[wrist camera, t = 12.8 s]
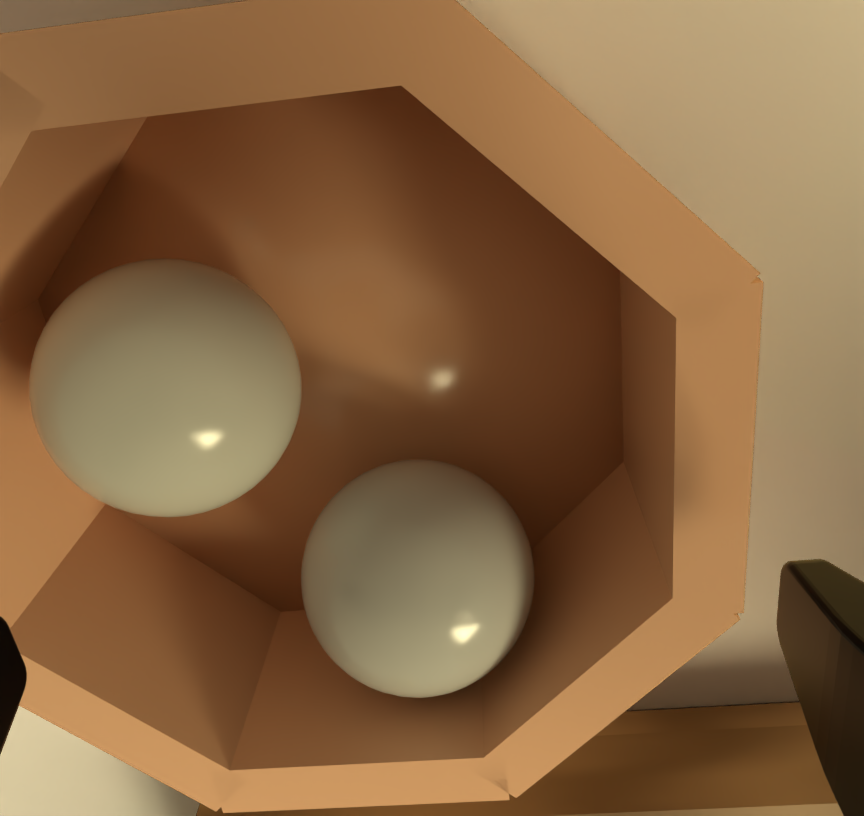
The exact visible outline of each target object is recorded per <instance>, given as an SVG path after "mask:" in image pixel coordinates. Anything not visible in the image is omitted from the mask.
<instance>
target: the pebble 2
mask: <svg viewBox="0 0 864 816" xmlns="http://www.w3.org/2000/svg"><path fill="white" fill-rule="evenodd" d="M534 584H535V575H534V563H533V556H532V551H531V547H530V543H529V540H528V537H527V534H526V532H525V529H524V527H523V525H522V523H521V521H520V519H519V517H518V516H517V514H516V513H515V511H514V510H513V508H512V507H511V505H510V504H509V503H508V502H507V500H506V499H505V498H504V497H503V496H502V495H501V494H500V493H499V492H498V491H497V490H496V489H495V488H494V487H492V486H491V485H490V484H489V483H487V482H486V481H485V480H484V479H482V478H480V477H479V476H477V475H476V474H474V473H472V472H470V471H468V470H465V469H463V468H461V467H459V466H456V465H453V464H449V463H446V462H441V461H435V460H428V459H413V460H401V461H396V462H391V463H387V464H383V465H381V466H378V467H376V468H373V469H371V470H369V471H366V472H364V473H363V474H361V475H359V476H358V477H356V478H355V479H353V480H352V481H350V482H349V483H347V484H346V485H345V486H344V487H343V488H342V489H341V490H339V491H338V492H337V493H336V494H335V495H334V496H333V497H332V498H331V499H330V501H329V502H328V503H327V505H326V506H325V507H324V509H323V510H322V512H321V513H320V514H319V516H318V518H317V520H316V521H315V523H314V525H313V527H312V530H311V532H310V534H309V537H308V540H307V542H306V546H305V551H304V555H303V560H302V568H301V587H302V598H303V603H304V608H305V612H306V615H307V618H308V621H309V624H310V626H311V628H312V631H313V633H314V635H315V636H316V638H317V640H318V642H319V643H320V645H321V646H322V648H323V649H324V651H325V652H326V653H327V654H328V656H329V657H330V658H331V659H332V660H333V661H334V662H335V663H336V664H337V665H338V666H339V667H340V668H341V669H342V670H343V671H345V672H346V673H347V674H348V675H350V676H351V677H352V678H354V679H355V680H357V681H359V682H361V683H362V684H364V685H366V686H368V687H370V688H372V689H375V690H377V691H380V692H383V693H387V694H391V695H396V696H400V697H414V698H425V697H433V696H439V695H445V694H448V693H451V692H454V691H457V690H460V689H462V688H465V687H467V686H469V685H471V684H472V683H474V682H476V681H478V680H479V679H481V678H483V677H484V676H485V675H487V674H488V673H489V672H490V671H492V670H493V669H494V668H495V667H496V666H497V665H498V664H499V663H500V662H501V661H502V660H503V659H504V658H505V657H506V656H507V654H508V653H509V652H510V651H511V649H512V648H513V646H514V645H515V644H516V642H517V640H518V638H519V637H520V635H521V633H522V631H523V629H524V626H525V624H526V621H527V619H528V616H529V613H530V609H531V605H532V600H533V595H534Z"/></svg>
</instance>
